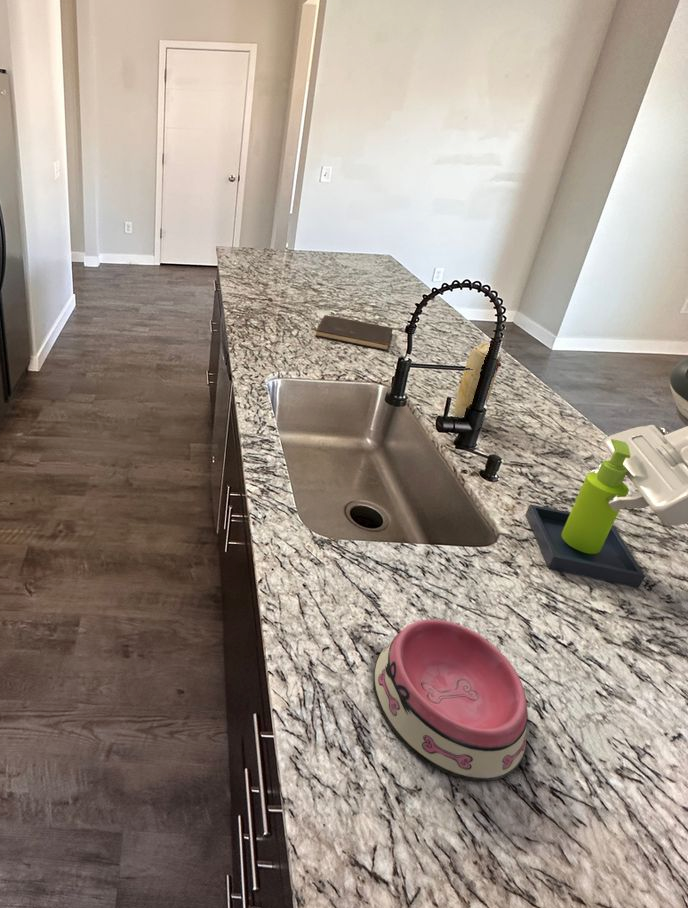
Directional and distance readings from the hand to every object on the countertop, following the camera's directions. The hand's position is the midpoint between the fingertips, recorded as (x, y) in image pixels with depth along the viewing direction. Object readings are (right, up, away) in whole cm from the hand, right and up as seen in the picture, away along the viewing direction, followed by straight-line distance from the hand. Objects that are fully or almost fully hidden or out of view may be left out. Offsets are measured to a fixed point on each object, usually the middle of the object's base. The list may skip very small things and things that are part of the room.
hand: (600, 491), depth 92 cm
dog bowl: (-37, -23, -20) cm, 48 cm away
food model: (+1, +7, +45) cm, 45 cm away
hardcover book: (-13, +29, +89) cm, 95 cm away
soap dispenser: (0, -10, +5) cm, 11 cm away
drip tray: (0, -12, +5) cm, 13 cm away
